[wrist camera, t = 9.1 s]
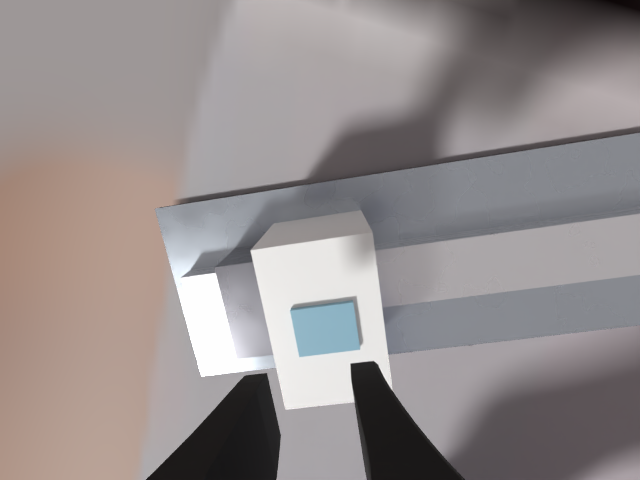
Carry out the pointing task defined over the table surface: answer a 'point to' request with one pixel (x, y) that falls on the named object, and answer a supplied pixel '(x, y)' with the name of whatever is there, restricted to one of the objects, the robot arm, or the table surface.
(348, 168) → the table surface
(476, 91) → the table surface
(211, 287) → the rail
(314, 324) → the block
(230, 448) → the robot arm
